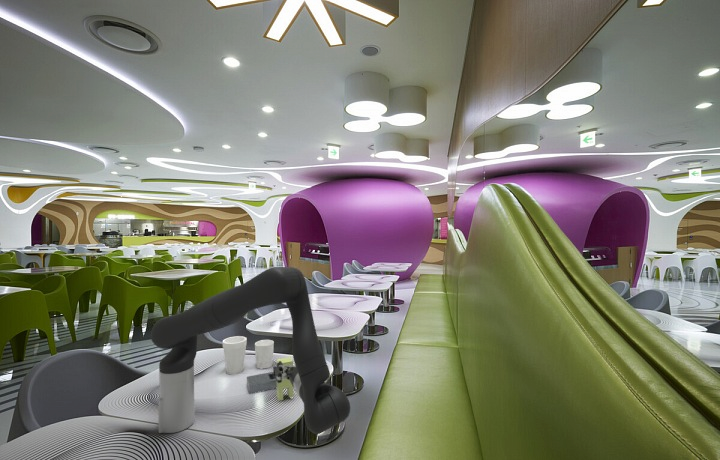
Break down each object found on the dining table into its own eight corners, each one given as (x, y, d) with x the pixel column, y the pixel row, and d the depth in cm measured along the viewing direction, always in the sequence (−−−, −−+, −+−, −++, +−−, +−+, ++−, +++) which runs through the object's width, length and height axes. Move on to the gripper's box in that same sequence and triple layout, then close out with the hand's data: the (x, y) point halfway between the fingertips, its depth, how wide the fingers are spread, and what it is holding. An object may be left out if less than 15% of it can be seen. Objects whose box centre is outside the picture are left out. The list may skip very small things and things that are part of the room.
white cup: (270, 369, 140) (270, 345, 140) (252, 369, 140) (252, 345, 140) (276, 362, 147) (275, 339, 147) (258, 362, 148) (258, 339, 148)
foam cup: (222, 368, 141) (222, 338, 141) (245, 364, 145) (245, 335, 145) (223, 377, 132) (223, 345, 132) (247, 373, 136) (247, 341, 136)
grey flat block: (249, 393, 119) (249, 385, 119) (246, 384, 126) (246, 376, 126) (308, 381, 128) (308, 373, 128) (303, 373, 136) (303, 366, 136)
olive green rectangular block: (279, 401, 114) (278, 363, 114) (276, 396, 117) (276, 359, 117) (293, 398, 116) (293, 361, 116) (290, 393, 119) (290, 357, 119)
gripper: (331, 363, 95) (314, 346, 109) (280, 373, 89) (269, 353, 103) (331, 389, 95) (314, 369, 109) (281, 401, 89) (270, 378, 103)
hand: (292, 361), depth 106 cm, fingers open, 8 cm apart
